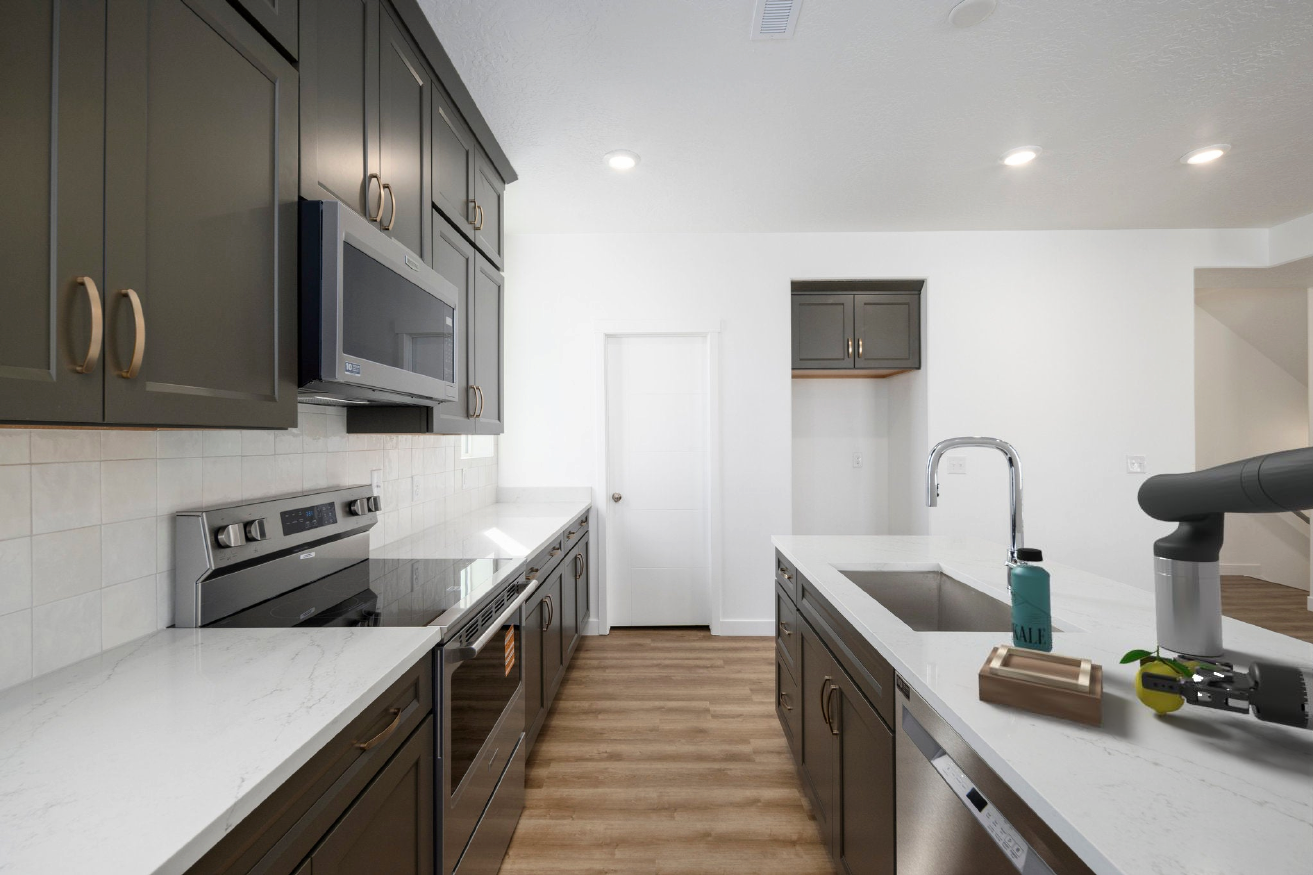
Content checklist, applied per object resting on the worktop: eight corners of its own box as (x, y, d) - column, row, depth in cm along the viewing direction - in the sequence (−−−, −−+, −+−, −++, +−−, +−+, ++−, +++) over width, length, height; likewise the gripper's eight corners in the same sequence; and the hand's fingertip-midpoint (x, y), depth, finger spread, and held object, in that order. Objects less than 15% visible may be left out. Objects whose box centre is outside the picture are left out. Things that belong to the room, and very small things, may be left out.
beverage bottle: (1041, 649, 110) (1037, 545, 110) (1062, 662, 103) (1058, 551, 104) (1005, 649, 110) (1001, 545, 111) (1023, 662, 104) (1020, 551, 104)
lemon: (1120, 709, 85) (1118, 641, 85) (1143, 701, 87) (1141, 635, 87) (1176, 729, 79) (1173, 656, 79) (1199, 720, 81) (1196, 649, 81)
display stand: (994, 669, 101) (994, 640, 101) (1103, 690, 91) (1101, 659, 91) (979, 699, 89) (978, 667, 89) (1101, 727, 80) (1099, 691, 80)
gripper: (1289, 653, 80) (1138, 631, 90) (1318, 687, 69) (1141, 658, 79) (1292, 707, 80) (1139, 679, 90) (1321, 750, 68) (1143, 713, 79)
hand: (1140, 670), depth 84 cm, fingers open, 8 cm apart
